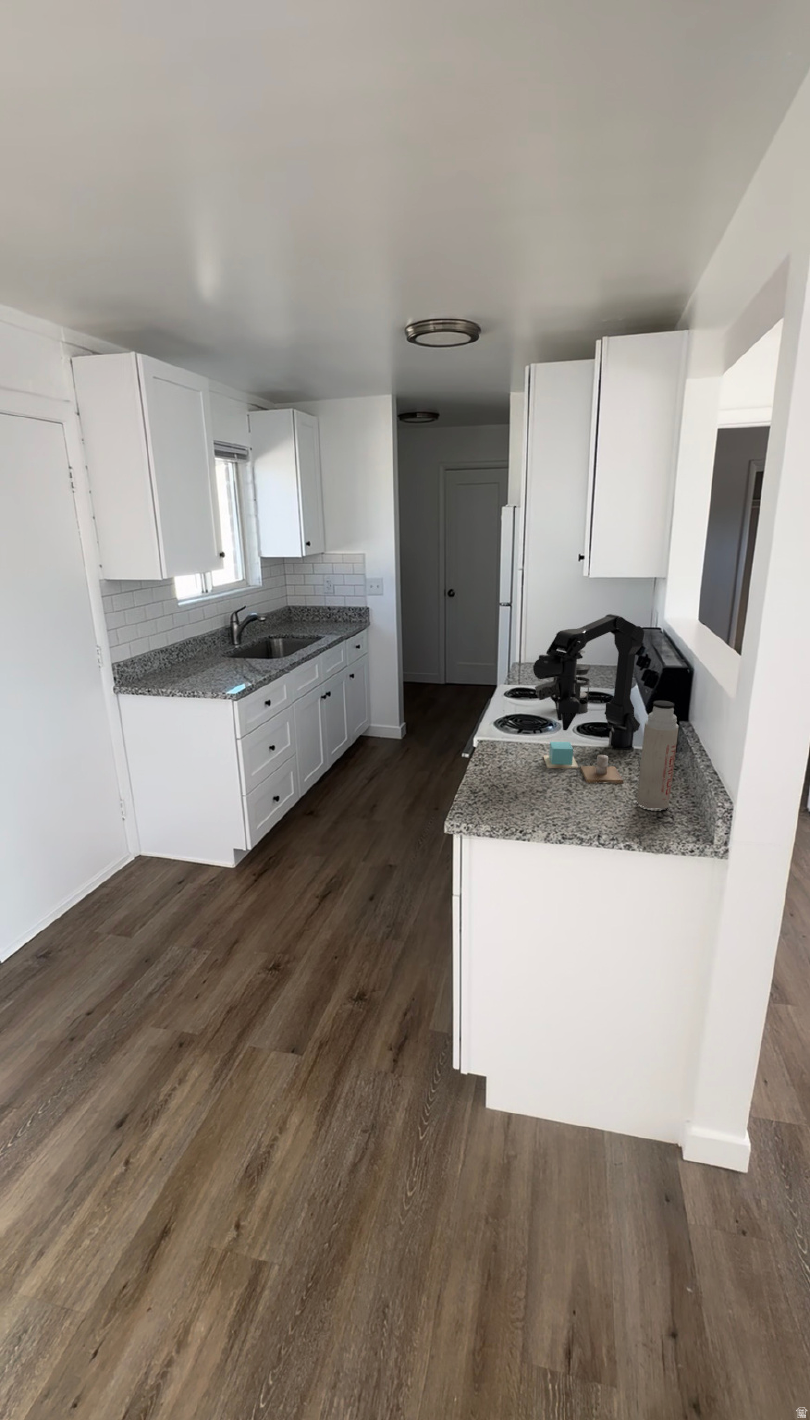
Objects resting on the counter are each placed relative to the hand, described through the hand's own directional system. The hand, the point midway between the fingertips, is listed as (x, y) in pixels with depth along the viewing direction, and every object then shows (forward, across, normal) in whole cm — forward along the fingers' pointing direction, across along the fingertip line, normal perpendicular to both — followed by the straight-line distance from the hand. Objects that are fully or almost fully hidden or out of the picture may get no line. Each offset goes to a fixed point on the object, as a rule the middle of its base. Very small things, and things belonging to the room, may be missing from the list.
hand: (562, 725), depth 200 cm
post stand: (+12, +10, +10) cm, 19 cm away
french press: (+12, -54, +14) cm, 57 cm away
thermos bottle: (+12, +29, +19) cm, 37 cm away
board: (+12, 0, 0) cm, 12 cm away
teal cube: (+11, 0, 0) cm, 11 cm away
